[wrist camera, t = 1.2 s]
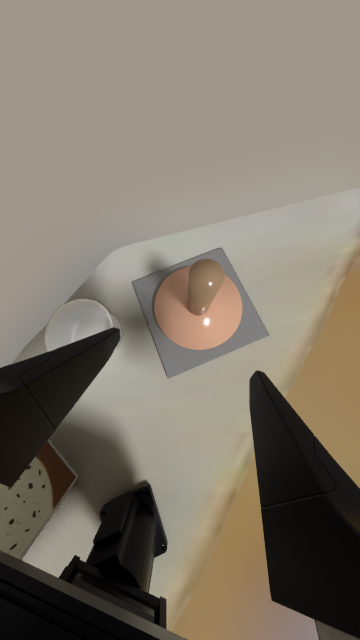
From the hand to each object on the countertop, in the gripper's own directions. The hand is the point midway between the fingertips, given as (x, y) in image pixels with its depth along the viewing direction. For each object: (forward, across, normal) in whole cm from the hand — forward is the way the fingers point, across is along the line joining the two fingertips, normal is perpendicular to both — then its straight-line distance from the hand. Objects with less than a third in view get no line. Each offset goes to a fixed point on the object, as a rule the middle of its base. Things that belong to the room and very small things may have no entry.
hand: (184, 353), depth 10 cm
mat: (+14, 0, +4) cm, 15 cm away
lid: (+14, 0, +4) cm, 14 cm away
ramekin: (+8, +14, +10) cm, 19 cm away
